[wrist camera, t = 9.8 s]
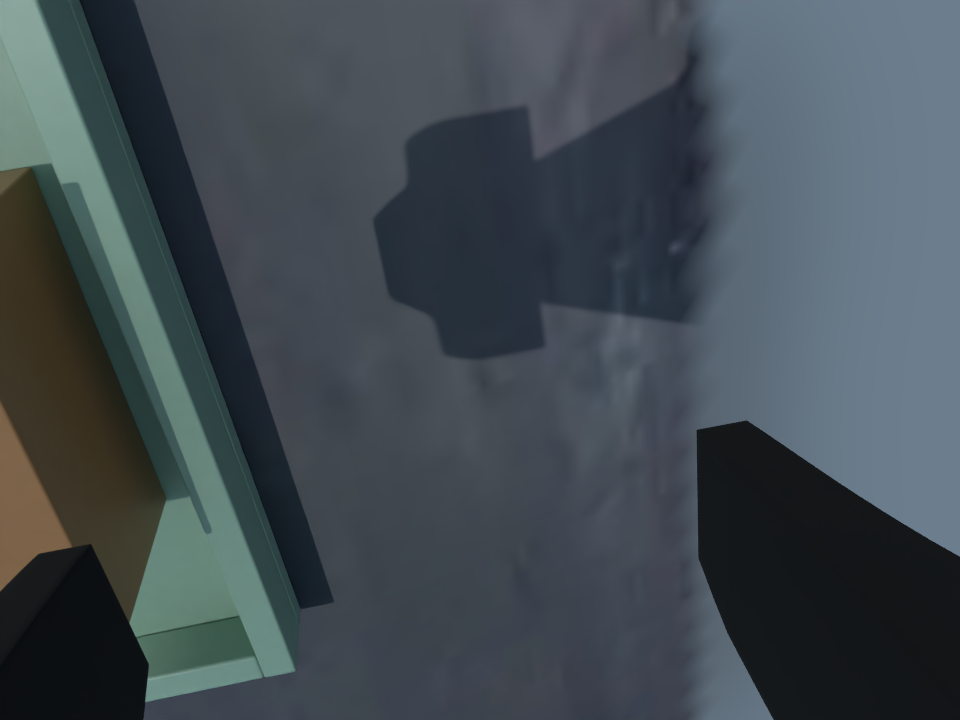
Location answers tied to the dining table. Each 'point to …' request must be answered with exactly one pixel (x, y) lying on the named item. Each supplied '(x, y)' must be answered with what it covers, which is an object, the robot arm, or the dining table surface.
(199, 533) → the tray
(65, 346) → the block
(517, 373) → the dining table surface
